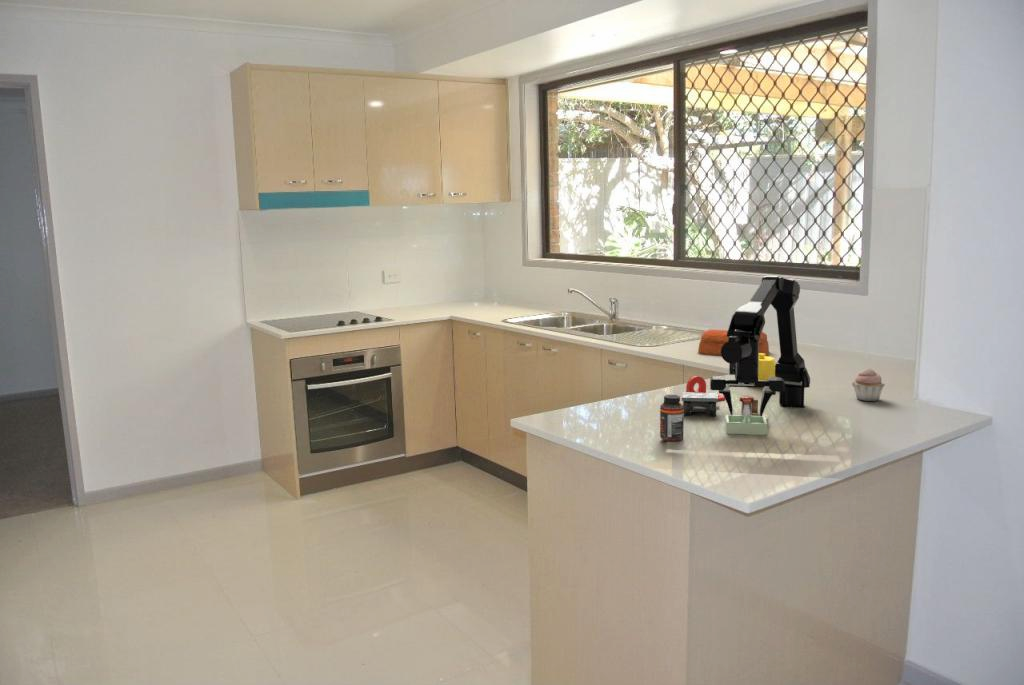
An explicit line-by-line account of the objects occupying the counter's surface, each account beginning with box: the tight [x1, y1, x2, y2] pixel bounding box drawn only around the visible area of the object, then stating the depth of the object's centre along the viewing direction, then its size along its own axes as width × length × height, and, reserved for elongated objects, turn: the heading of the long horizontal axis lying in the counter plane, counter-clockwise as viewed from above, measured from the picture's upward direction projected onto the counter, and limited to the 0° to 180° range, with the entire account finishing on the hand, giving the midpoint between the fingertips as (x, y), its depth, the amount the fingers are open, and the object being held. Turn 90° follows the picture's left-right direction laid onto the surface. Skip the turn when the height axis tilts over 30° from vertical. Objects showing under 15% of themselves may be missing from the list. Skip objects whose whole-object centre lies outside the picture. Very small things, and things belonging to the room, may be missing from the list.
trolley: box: [681, 391, 720, 417], centre depth 233 cm, size 11×8×5 cm
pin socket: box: [751, 412, 769, 427], centre depth 222 cm, size 6×6×2 cm
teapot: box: [758, 353, 777, 381], centre depth 269 cm, size 18×11×11 cm, turn 158°
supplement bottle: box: [659, 394, 685, 442], centre depth 208 cm, size 6×6×11 cm
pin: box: [739, 396, 754, 423], centre depth 214 cm, size 4×4×8 cm
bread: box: [697, 329, 770, 357], centre depth 323 cm, size 16×27×11 cm, turn 62°
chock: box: [741, 394, 759, 413], centre depth 232 cm, size 4×6×5 cm, turn 167°
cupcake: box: [851, 366, 886, 402], centre depth 246 cm, size 9×9×10 cm
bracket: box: [685, 375, 726, 402], centre depth 249 cm, size 12×4×8 cm, turn 116°
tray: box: [725, 414, 768, 436], centre depth 215 cm, size 10×8×3 cm
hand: (746, 415), depth 215 cm, fingers open, 7 cm apart
